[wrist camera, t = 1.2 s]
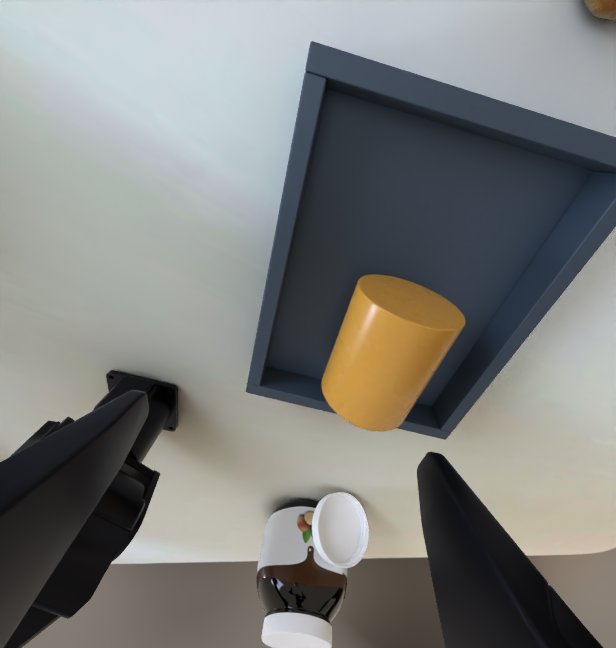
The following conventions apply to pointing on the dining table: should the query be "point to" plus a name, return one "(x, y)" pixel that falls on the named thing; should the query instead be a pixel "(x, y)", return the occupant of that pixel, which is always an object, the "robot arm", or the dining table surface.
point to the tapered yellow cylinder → (388, 350)
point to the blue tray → (424, 223)
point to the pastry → (602, 8)
